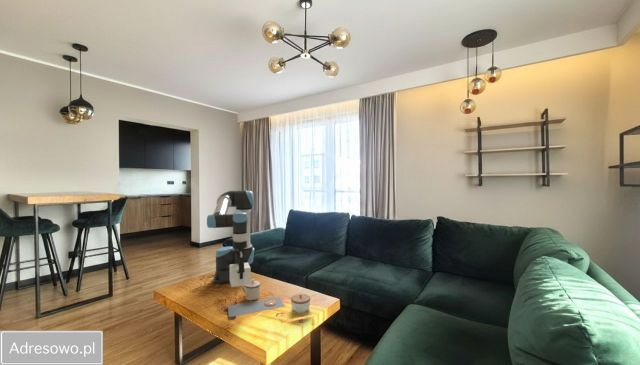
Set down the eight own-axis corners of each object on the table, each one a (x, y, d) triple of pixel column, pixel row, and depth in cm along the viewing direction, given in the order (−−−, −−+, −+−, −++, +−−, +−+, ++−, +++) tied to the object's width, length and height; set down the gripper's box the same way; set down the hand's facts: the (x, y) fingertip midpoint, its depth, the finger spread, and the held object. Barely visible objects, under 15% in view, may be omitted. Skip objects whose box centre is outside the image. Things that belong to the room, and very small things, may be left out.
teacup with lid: (263, 296, 163) (263, 278, 163) (254, 303, 155) (254, 283, 155) (247, 293, 168) (247, 275, 168) (237, 299, 159) (237, 280, 159)
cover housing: (229, 280, 148) (229, 264, 148) (247, 277, 152) (247, 262, 152) (231, 287, 138) (231, 270, 138) (250, 284, 142) (250, 267, 142)
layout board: (227, 308, 149) (227, 305, 149) (279, 298, 161) (279, 296, 161) (229, 319, 137) (229, 316, 137) (285, 308, 149) (285, 305, 149)
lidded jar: (287, 311, 146) (287, 294, 146) (301, 304, 153) (301, 288, 153) (299, 318, 138) (299, 300, 138) (314, 311, 146) (314, 294, 145)
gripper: (231, 237, 154) (231, 274, 154) (234, 246, 133) (234, 289, 133) (244, 236, 157) (244, 273, 157) (250, 244, 136) (250, 287, 136)
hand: (239, 280), depth 145 cm, fingers closed on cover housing, 10 cm apart
